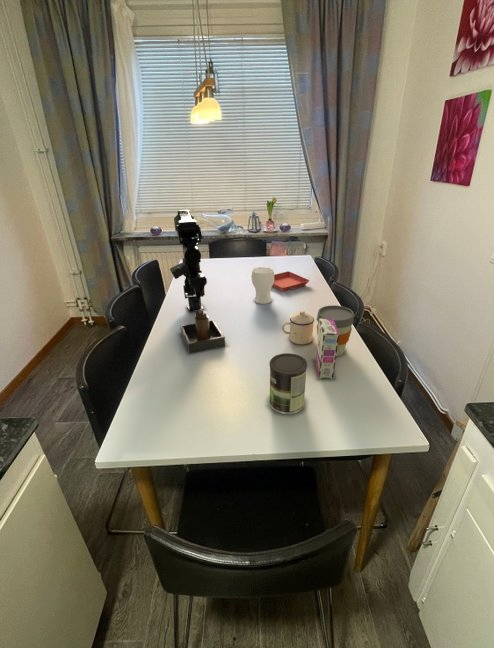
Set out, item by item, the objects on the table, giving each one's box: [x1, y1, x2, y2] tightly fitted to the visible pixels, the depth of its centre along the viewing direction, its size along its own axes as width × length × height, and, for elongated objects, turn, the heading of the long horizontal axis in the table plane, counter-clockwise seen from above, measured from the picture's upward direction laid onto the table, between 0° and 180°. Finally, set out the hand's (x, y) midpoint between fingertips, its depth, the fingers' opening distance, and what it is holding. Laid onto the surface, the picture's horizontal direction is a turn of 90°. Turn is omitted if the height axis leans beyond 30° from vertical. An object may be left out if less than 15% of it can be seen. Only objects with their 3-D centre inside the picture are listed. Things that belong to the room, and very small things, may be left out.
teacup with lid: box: [281, 310, 315, 345], centre depth 131 cm, size 12×9×12 cm
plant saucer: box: [272, 271, 310, 292], centre depth 184 cm, size 18×18×3 cm
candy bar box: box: [315, 319, 339, 380], centre depth 112 cm, size 11×5×16 cm, turn 178°
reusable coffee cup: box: [316, 304, 355, 357], centre depth 123 cm, size 13×13×15 cm
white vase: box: [251, 266, 275, 305], centre depth 163 cm, size 11×11×15 cm
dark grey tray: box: [179, 319, 226, 354], centre depth 134 cm, size 16×14×4 cm
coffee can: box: [268, 352, 308, 415], centre depth 99 cm, size 10×10×14 cm
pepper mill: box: [194, 309, 210, 341], centre depth 129 cm, size 5×5×14 cm
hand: (195, 294), depth 140 cm, fingers open, 9 cm apart
